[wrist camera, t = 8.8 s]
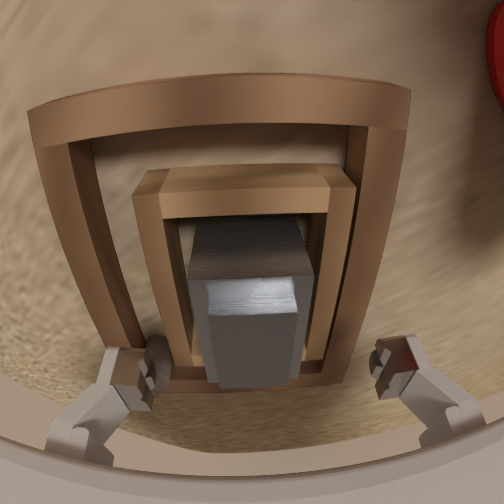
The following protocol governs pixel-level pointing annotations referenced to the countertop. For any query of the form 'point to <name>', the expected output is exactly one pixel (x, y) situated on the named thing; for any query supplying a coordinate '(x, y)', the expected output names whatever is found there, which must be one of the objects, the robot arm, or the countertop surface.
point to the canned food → (496, 51)
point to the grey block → (250, 298)
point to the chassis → (228, 204)
